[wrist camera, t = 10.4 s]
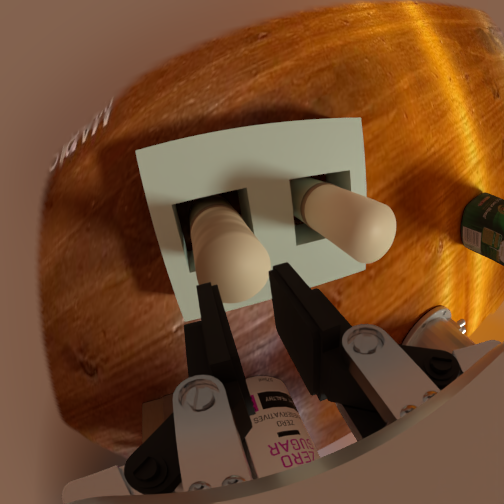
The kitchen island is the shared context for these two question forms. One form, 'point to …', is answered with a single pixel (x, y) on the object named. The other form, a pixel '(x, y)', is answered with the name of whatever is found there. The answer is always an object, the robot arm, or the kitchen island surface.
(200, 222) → the peg
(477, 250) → the coffee jar
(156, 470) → the robot arm
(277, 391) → the supplement can
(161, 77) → the kitchen island surface
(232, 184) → the seat board
